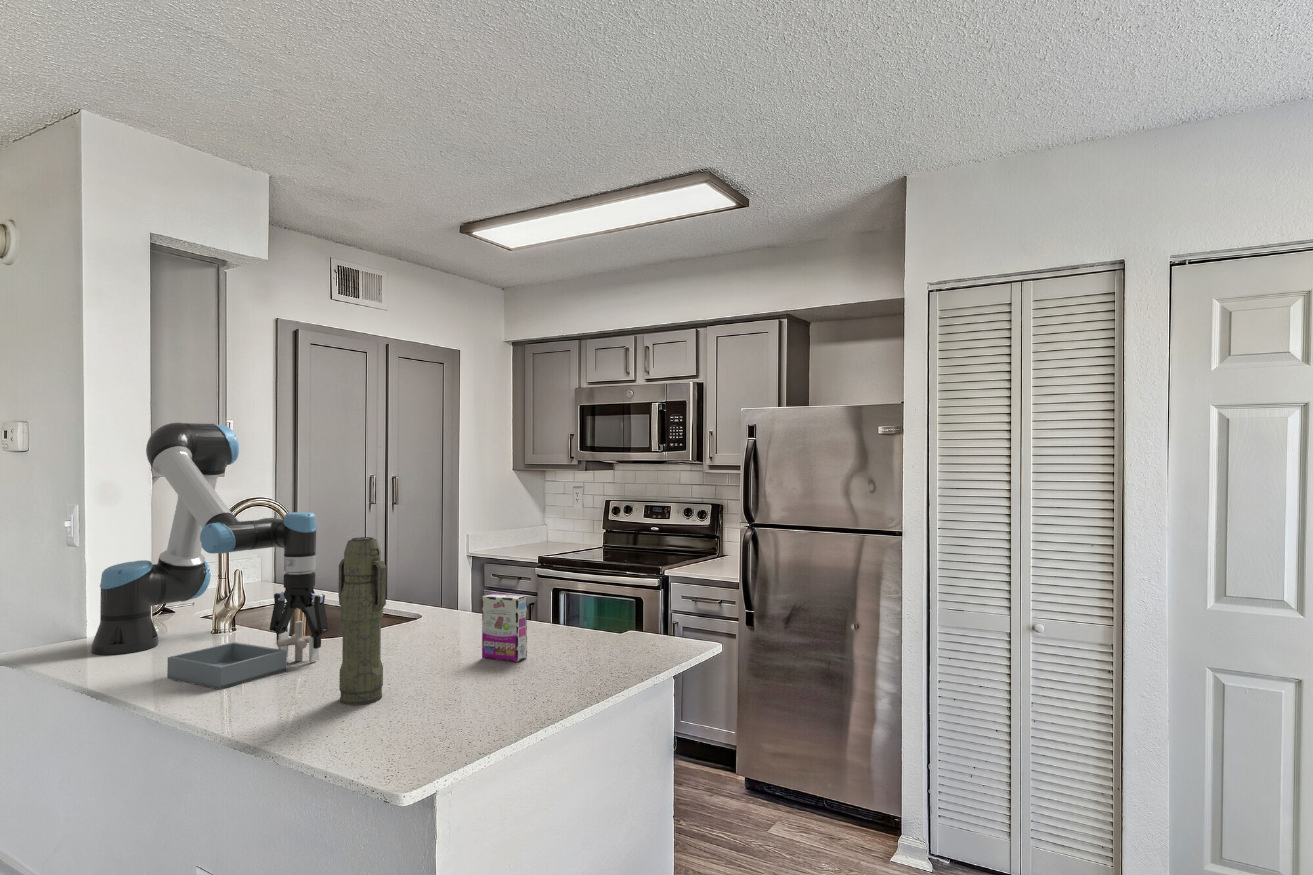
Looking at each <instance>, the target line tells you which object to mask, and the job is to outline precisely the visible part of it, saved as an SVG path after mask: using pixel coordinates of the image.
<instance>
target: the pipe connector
mask: <svg viewBox="0 0 1313 875" xmlns="http://www.w3.org/2000/svg"><path fill="white" fill-rule="evenodd" d="M294 624H295V625H294V632H295V633H294V634H292V635H291V637H288V639H282V640H277V639H276V646H277V648H278V647H283V646H288V647H289V646H294V662H302V661H303V656H304V653H303V651H304V649H305V648H307V646H308V644H309V637H310V636H311V635H305V636H304V632H303V631H304V621H303V620H297V621H295V623H294Z"/></svg>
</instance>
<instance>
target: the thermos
mask: <svg viewBox="0 0 1313 875" xmlns="http://www.w3.org/2000/svg"><path fill="white" fill-rule="evenodd" d="M381 553H382V552H381V548H380V545H379V541H378V539H376V538H375V537H368V536H367V537H365V536H363V537H353V538H352V537H351V539H350V540H347V543H346V546H345V548H344V552H343V558H342V559H341V561H339V564H338V602H339V603H338V604H339V606H340V622H341V624H342V653H341V654H342V658H341V659H342V660H341V661H342V662H341V665H340V667H339V681H338V682H339V685H338V686H339V691H340V697H339V701H340V703H341V704H342V705H347V706H362V705H367V704H368V705H369V704H372V703H376V702H377V701H380V700H382V698H383V691H382V690H383V685H384V665H383V663H382V660H381V658H382V656H381V653H382V652H381V648H382V646H381V642H382V640H381V638H382V637H381V636H382V633H381V632H382V630H381V629H382V619H383V618H384V608H385V606H386V605H387V599H386V598H387V596H386V595H387V574H388V573H387V571H388V570H387V568H388V567H387V565H386V563H385V561H384V560H381V558H382V556H381V555H382V554H381Z"/></svg>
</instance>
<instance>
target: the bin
mask: <svg viewBox="0 0 1313 875" xmlns="http://www.w3.org/2000/svg"><path fill="white" fill-rule="evenodd" d="M287 659H288V657H287V651H286V650H280V649H278V648H274V647H273V648H272V647H268V646H267V647H266V646H262V645H261V646H260V645H254V644H249V643H244V642H237V641H233V642H228V643H224V644H220V645H216V646H215V645H214V646H210V647H207V648H203V649H198V650H194V651H189V652H185V653H180V654H176V655H172V656H167V669H166V670H167V671H166V672H167V673H166V674H167V676H166V678H167V679H170V680H173V681H179V682H182V681H183V683H187V684H192V683H193V685H196V686H201V685H203V687H206V688H211V687H212V688H211V689H215V690H220V689H221V690H225V689H227V688H230V687H236V686H238V685H239V686H240V685H242V684H246V683H249V682H252V681H257V680H260V679H262V678H266V677H270V676H273V675H277V674H280V673H284V672H287V664H288V663H287Z"/></svg>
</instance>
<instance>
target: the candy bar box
mask: <svg viewBox="0 0 1313 875" xmlns="http://www.w3.org/2000/svg"><path fill="white" fill-rule="evenodd" d="M527 606H528V596H527V595H516V594H503V593H502V594H501V593H489V594H487V595H482V597H481V610H482V613H481V614H482V615H481V616H482V617H481V619H482V620H481V625H482V626H481V627H482V630H481V634H482V635H481V643H482V644H481V658H482V659H483V658H485V660H492V661H493V660H494V661H501V660H503V662H513V663H518V662H521V661H523V660H526V659H527V657H528V647H527V644H528V639H527V638H528V636H527V635H528V628H527V627H528V626H527V623H528V621H527V620H528V613H527V612H528V611H527V610H528V607H527ZM525 658H526V659H525Z"/></svg>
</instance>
